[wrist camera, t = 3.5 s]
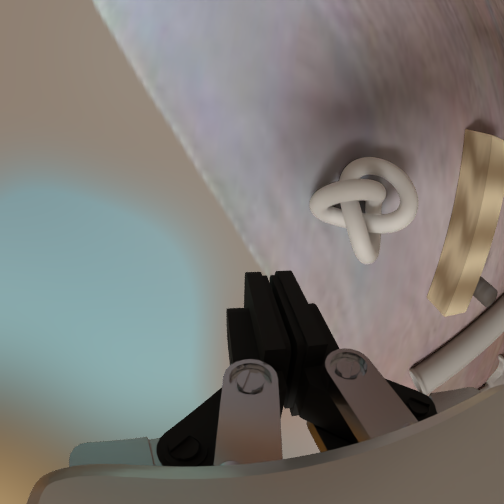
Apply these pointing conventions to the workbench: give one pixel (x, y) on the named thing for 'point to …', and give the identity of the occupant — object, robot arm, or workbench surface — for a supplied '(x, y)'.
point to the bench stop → (471, 227)
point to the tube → (459, 350)
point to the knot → (366, 204)
